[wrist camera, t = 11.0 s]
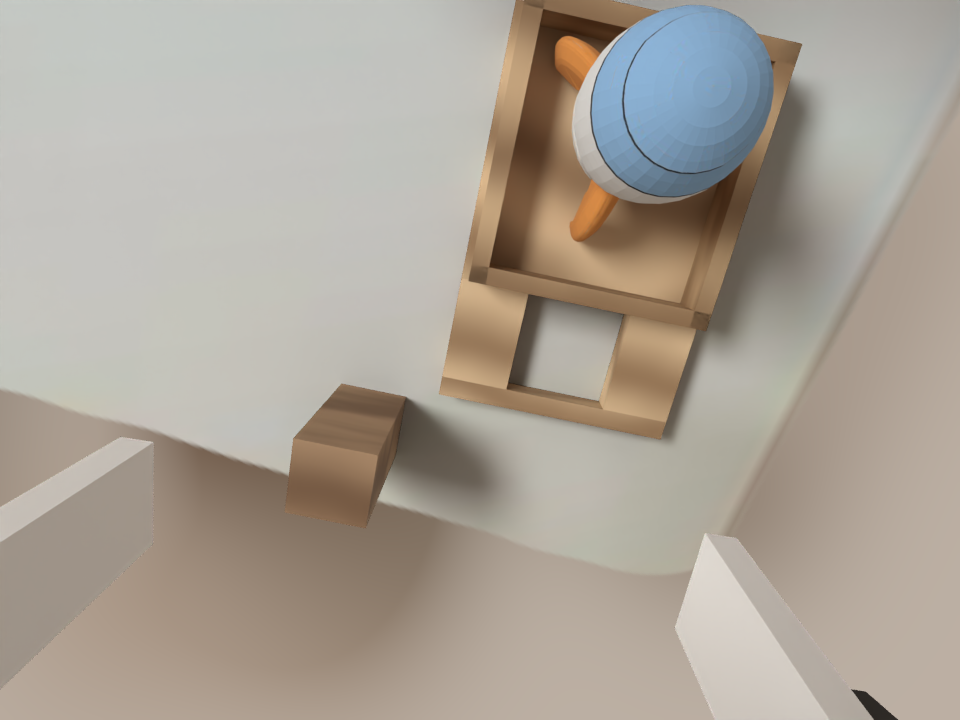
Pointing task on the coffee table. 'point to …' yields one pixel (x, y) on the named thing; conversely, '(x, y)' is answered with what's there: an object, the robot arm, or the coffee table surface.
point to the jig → (600, 258)
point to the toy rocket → (664, 108)
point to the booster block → (344, 456)
